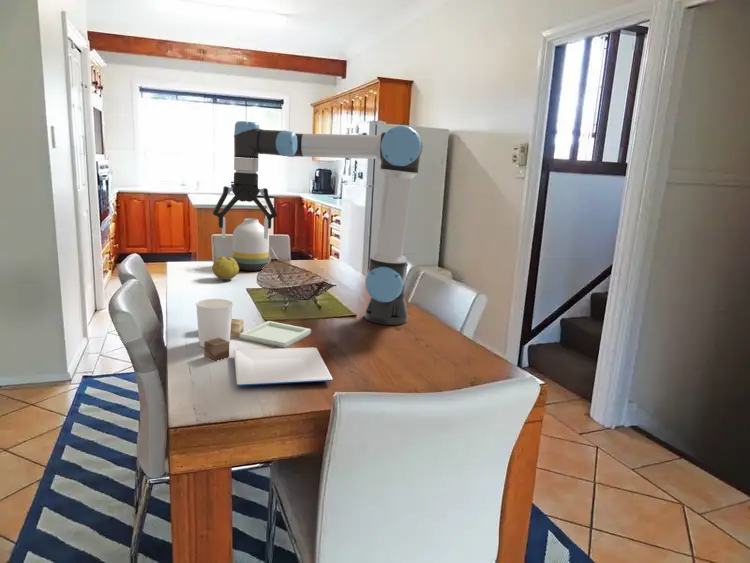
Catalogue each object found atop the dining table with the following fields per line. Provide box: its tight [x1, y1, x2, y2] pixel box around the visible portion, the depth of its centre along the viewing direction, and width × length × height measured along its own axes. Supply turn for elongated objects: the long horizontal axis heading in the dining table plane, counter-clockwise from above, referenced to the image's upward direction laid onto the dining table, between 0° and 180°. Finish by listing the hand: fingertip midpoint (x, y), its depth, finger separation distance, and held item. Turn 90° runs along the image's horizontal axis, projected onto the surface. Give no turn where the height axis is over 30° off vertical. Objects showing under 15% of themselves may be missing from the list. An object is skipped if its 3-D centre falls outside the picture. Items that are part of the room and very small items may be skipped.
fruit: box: [212, 256, 240, 281], centre depth 225 cm, size 11×12×10 cm
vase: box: [231, 218, 270, 272], centre depth 249 cm, size 17×17×24 cm
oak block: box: [230, 318, 245, 339], centre depth 156 cm, size 4×4×4 cm
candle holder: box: [195, 298, 234, 348], centre depth 147 cm, size 10×10×12 cm
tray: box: [239, 320, 312, 349], centre depth 158 cm, size 15×15×2 cm
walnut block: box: [203, 338, 230, 362], centre depth 138 cm, size 4×4×4 cm
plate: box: [233, 347, 333, 387], centre depth 133 cm, size 22×22×2 cm
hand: (245, 238), depth 171 cm, fingers open, 13 cm apart
